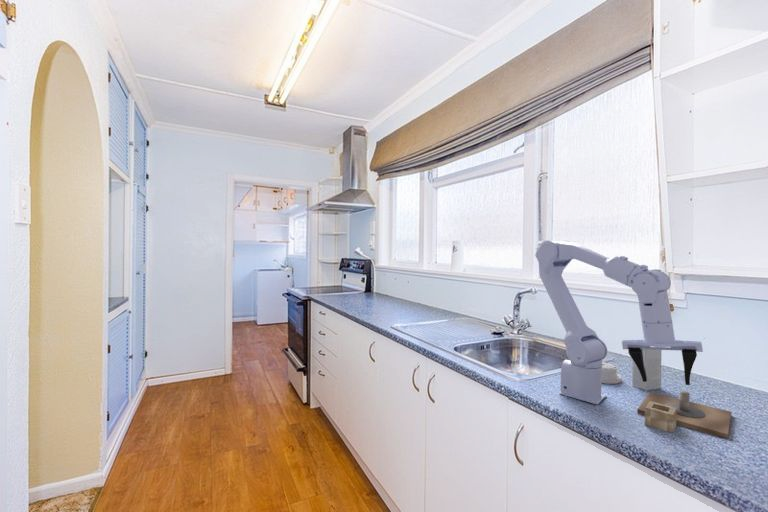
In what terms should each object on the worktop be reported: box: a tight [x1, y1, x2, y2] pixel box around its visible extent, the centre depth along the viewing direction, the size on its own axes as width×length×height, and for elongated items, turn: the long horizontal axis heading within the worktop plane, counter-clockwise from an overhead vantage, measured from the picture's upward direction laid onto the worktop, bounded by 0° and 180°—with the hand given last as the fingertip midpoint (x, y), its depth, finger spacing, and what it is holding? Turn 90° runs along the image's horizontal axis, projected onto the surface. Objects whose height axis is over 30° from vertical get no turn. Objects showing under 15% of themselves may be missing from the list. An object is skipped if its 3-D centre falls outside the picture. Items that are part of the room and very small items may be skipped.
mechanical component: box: [601, 361, 622, 385], centre depth 111 cm, size 10×4×10 cm
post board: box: [637, 390, 732, 440], centre depth 87 cm, size 16×15×6 cm
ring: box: [644, 401, 677, 434], centre depth 82 cm, size 5×5×4 cm
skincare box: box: [631, 346, 662, 392], centre depth 104 cm, size 6×4×12 cm
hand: (665, 382), depth 81 cm, fingers open, 7 cm apart
